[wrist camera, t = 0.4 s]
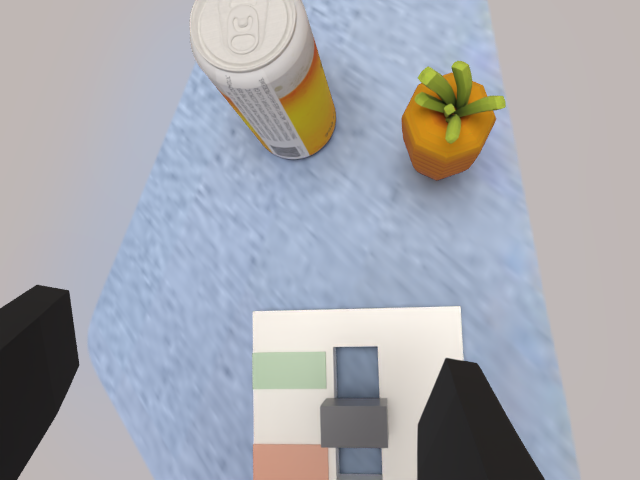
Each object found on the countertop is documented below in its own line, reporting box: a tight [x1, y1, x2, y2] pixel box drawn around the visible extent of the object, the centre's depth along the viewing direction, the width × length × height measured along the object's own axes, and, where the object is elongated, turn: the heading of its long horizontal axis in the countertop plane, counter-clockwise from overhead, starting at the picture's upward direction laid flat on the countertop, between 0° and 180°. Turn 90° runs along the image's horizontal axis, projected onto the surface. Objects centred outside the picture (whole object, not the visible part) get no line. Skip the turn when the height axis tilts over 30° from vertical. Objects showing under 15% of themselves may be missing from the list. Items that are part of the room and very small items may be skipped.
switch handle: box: [320, 398, 389, 448], centre depth 35 cm, size 2×4×5 cm, turn 92°
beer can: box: [190, 0, 336, 159], centre depth 34 cm, size 6×6×15 cm
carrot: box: [402, 61, 506, 181], centre depth 32 cm, size 5×5×15 cm
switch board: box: [252, 306, 463, 480], centre depth 37 cm, size 12×14×2 cm
